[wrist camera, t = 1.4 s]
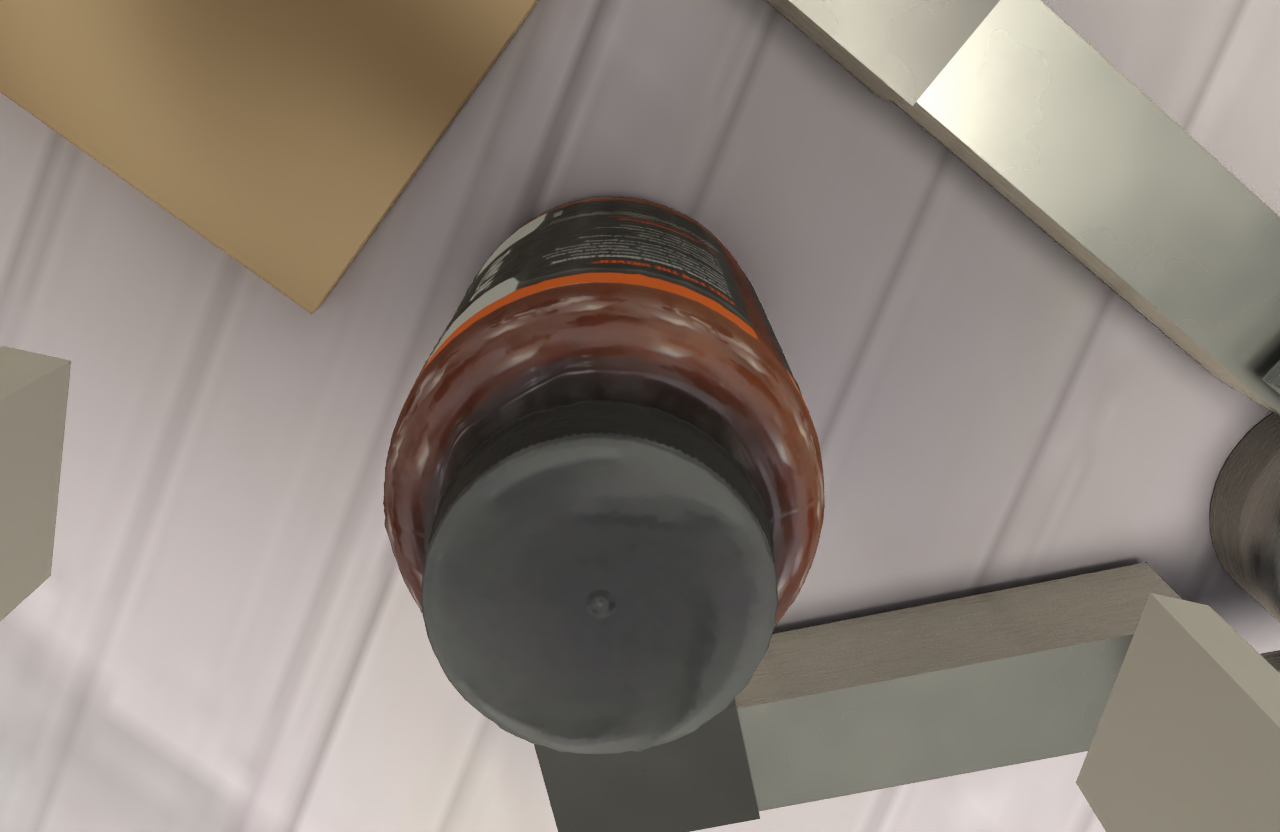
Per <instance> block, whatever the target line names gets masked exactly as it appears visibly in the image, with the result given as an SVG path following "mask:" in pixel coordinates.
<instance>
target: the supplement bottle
mask: <svg viewBox="0 0 1280 832" xmlns="http://www.w3.org/2000/svg"><path fill="white" fill-rule="evenodd" d="M383 504H384V513H385V528H386V530H387V533H388V536H389V539H390V542H391V546H392V550H393V553H394V556H395V558H396V560H397V563H398V566H399V569H400V572H401V574H402V577H403V579H404V582H405V584H406V586H407V587H408V589H409V591H410V593H411V595H412V597H413V598H414V600H415V602H416V603H417V605H418V606H419V608H420V610H421V612H422V613H423V617H424V622H425V626H426V631H427V635H428V638H429V641H430V643H431V646H432V649H433V651H434V653H435V655H436V657H437V659H438V661H439V663H440V665H441V667H442V669H443V671H444V673H445V674H446V676H447V678H448V680H449V681H450V682H451V683H452V685H453V686H454V687H455V688H456V689H457V691H458V692H459V693H460V694H461V695H462V696H463V698H464V699H465V700H466V701H467V702H469V703H470V704H471V705H472V706H473V707H474V708H476V709H477V710H478V711H479V712H480V713H482V714H483V715H484V716H485V717H487V718H488V719H490V720H492V721H493V722H495V723H496V724H497V725H498V726H499V727H500V728H502V729H503V730H505V731H507V732H509V733H511V734H513V735H515V736H517V737H520V738H522V739H525V740H527V741H529V742H531V743H533V744H538V745H542V746H546V747H548V748H551V749H554V750H556V751H559V752H570V753H579V754H614V753H623V752H627V751H634V752H640V751H644V750H647V749H648V748H650V747H653V746H657V745H661V744H664V743H668V742H671V741H674V740H676V739H678V738H680V737H683V736H685V735H687V734H689V733H691V732H693V731H695V730H696V729H698V728H699V727H700V726H701V725H702V724H704V723H706V722H707V721H709V720H711V719H712V718H714V717H715V716H716V715H718V714H719V713H720V712H722V711H723V710H724V709H726V707H727V706H728V705H729V704H730V703H731V702H732V701H733V699H734V698H735V697H736V696H737V695H738V694H739V693H740V692H741V691H742V690H743V689H744V688H745V687H746V686H747V684H748V683H749V682H750V680H751V678H752V677H753V675H754V673H755V671H756V669H757V667H758V665H759V663H760V662H761V660H762V658H763V656H764V655H765V653H766V651H767V649H768V648H769V644H770V639H771V637H772V634H773V630H774V627H775V625H776V624H777V623H778V622H779V620H780V619H781V618H782V616H783V615H784V614H785V612H786V610H787V609H788V607H789V606H790V605H791V604H792V603H793V602H794V600H795V598H796V597H797V595H798V594H799V592H800V589H801V587H802V585H803V584H804V582H805V579H806V577H807V574H808V572H809V569H810V568H811V565H812V562H813V559H814V556H815V553H816V549H817V546H818V542H819V537H820V532H821V528H822V523H823V515H824V479H823V467H822V460H821V453H820V446H819V442H818V437H817V433H816V431H815V428H814V425H813V422H812V419H811V417H810V414H809V411H808V409H807V406H806V404H805V402H804V400H803V398H802V395H801V392H800V389H799V386H798V384H797V382H796V381H795V379H794V377H793V375H792V372H791V370H790V368H789V365H788V363H787V361H786V359H785V356H784V354H783V352H782V349H781V347H780V345H779V343H778V341H777V339H776V337H775V334H774V332H773V330H772V328H771V325H770V323H769V321H768V319H767V316H766V314H765V312H764V310H763V307H762V305H761V303H760V301H759V299H758V297H757V295H756V293H755V291H754V288H753V286H752V285H751V283H750V281H749V280H748V278H747V277H746V275H745V274H744V273H743V271H742V270H741V268H740V267H739V265H738V263H737V261H736V260H735V259H734V257H733V256H732V255H731V254H730V252H729V251H728V250H727V249H726V248H725V247H724V246H723V244H722V243H721V242H720V241H719V240H718V239H717V238H715V236H714V235H713V234H712V233H711V232H710V231H708V230H707V229H706V228H704V227H703V226H702V225H700V224H699V223H697V222H696V221H694V220H693V219H691V218H689V217H687V216H685V215H683V214H681V213H679V212H677V211H675V210H672V209H670V208H668V207H665V206H663V205H659V204H656V203H653V202H649V201H645V200H640V199H633V198H624V197H594V198H588V199H583V200H579V201H575V202H570V203H567V204H564V205H561V206H559V207H557V208H554V209H552V210H550V211H547V212H545V213H543V214H541V215H540V216H538V217H535V218H533V219H532V220H530V221H529V222H528V223H526V224H525V225H523V226H522V227H520V228H519V229H518V230H516V231H515V232H514V233H513V234H512V235H511V236H510V237H509V238H507V239H506V241H504V242H503V243H502V244H501V245H500V246H499V248H498V249H497V250H496V251H495V252H494V253H493V254H492V255H491V257H490V258H489V259H488V260H487V262H486V263H485V264H484V266H483V268H482V269H481V270H480V272H479V273H478V274H477V276H476V277H475V279H474V281H473V283H472V284H471V285H470V287H469V288H468V290H467V293H466V295H465V297H464V299H463V300H462V302H461V304H460V305H459V307H458V309H457V311H456V313H455V315H454V317H453V319H452V321H451V322H450V323H449V325H448V326H447V328H446V330H445V332H444V333H443V335H442V336H441V338H440V339H439V342H438V344H437V345H436V346H435V348H434V350H433V352H432V353H431V355H430V357H429V359H428V360H427V361H426V363H425V365H424V367H423V369H422V371H421V372H420V374H419V376H418V378H417V380H416V382H415V384H414V386H413V388H412V390H411V392H410V394H409V396H408V398H407V399H406V401H405V403H404V406H403V408H402V411H401V413H400V416H399V418H398V421H397V424H396V426H395V429H394V431H393V435H392V438H391V443H390V447H389V451H388V457H387V461H386V467H385V482H384V502H383Z"/></svg>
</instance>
